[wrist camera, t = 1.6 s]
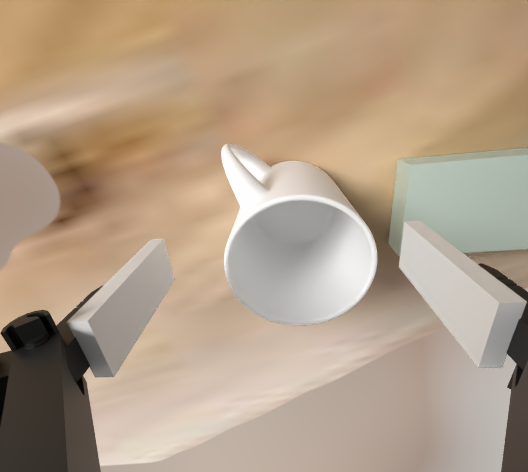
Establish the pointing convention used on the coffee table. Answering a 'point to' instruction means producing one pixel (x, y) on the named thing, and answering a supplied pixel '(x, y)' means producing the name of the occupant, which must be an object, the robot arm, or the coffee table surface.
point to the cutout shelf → (465, 199)
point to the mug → (294, 242)
